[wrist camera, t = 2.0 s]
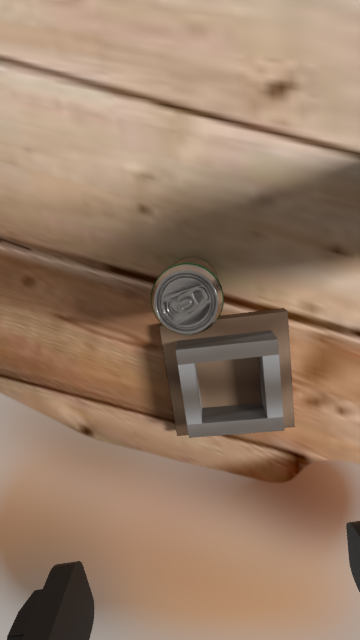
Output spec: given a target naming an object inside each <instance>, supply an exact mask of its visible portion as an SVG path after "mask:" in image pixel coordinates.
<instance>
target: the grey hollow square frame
mask: <svg viewBox="0 0 360 640" xmlns="http://www.w3.org/2000/svg"><path fill="white" fill-rule="evenodd" d="M159 328H160V334H161V340H162V346H163V352H164V358H165V364H166V370H167V377H168V383H169V389H170V395H171V401H172V407H173V413H174V419H175V425H176V432H177V436H182V435H189V438H191V437H204V436H218V435H231V434H244V433H257V432H271V431H284V428H287V427H295V424H294V407H293V391H292V374H291V358H290V341H289V325H288V311H287V310H285V309H284V308H282V309H273V310H265V311H257V312H248V313H240V314H232V315H223V316H219V318H218V319H217V321H216V322H215V323H214V324H213V325H212V326H211V327H210V328H208V329H207V330H205V331H203V332H201V333H198V334H193V335H182V334H177V333H174V332H172V331H170V330H168V329H167V328H165V327H164V326H163V325H162V324H160V326H159Z"/></svg>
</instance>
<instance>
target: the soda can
mask: <svg viewBox="0 0 360 640" xmlns="http://www.w3.org/2000/svg"><path fill="white" fill-rule="evenodd" d="M223 302H224V296H223V290H222V287H221V285H220V282H219V279H218V277H217V274H216V272H215V270H214V268H213V267H212V266H211V264H210V263H208V262H207V261H205V260H204V259H201V258H198V257H188V258H185V259H182V260H180V261H179V262H177V263H176V264H174V265H173V266H171V267H170V268H168V269H166V270H165V271H164V272H163V273H162V274H161V275H160V276H159V277H158V278H157V280H156V282H155V283H154V286H153V288H152V293H151V305H152V309H153V312H154V314H155V316H156V318H157V319H158V321H159V322H160V323H161V324H162V325H163V326H164V327H165V328H167V329H168V330H170V331H172V332H174V333H177V334H182V335H193V334H198V333H201V332H203V331H205V330H207V329H208V328H210V327H211V326H212V325H213V324H214V323H215V322H216V321H217V319H218V318H219V316H220V314H221V312H222V308H223Z"/></svg>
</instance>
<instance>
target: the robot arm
mask: <svg viewBox="0 0 360 640" xmlns="http://www.w3.org/2000/svg"><path fill="white" fill-rule="evenodd" d="M346 527H347V539H348V551H349V561H350V568H351V571H352V575H353V577H354V580H355V583H356V585H357V587H358V590H359V592H360V521H356V522H349V523H347V526H346ZM93 620H94V600H93V596H92V593H91V590H90V587H89V583H88V580H87V577H86V574H85V571H84V567H83V565H82V563H81V562H80V561H77V562H71V563H63V564H57V565H55V566H54V567H53V568H52V569H51V571H50V573H49V575H48V578H47V580H46V583H45V585H44V587H43V589H41V590H35V591H34V592H33V594H32V595H31V596H30V597H29V599H28V600H27V601H26V603H25V604H24V605H23V607H22V608H21V610H20V611H19V612H18V615H17V617H16V619H15V621H14V623H13V625H12V627H11V630H10V632H9V634H8V636H7V640H89V638H90V634H91V630H92V625H93Z"/></svg>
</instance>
